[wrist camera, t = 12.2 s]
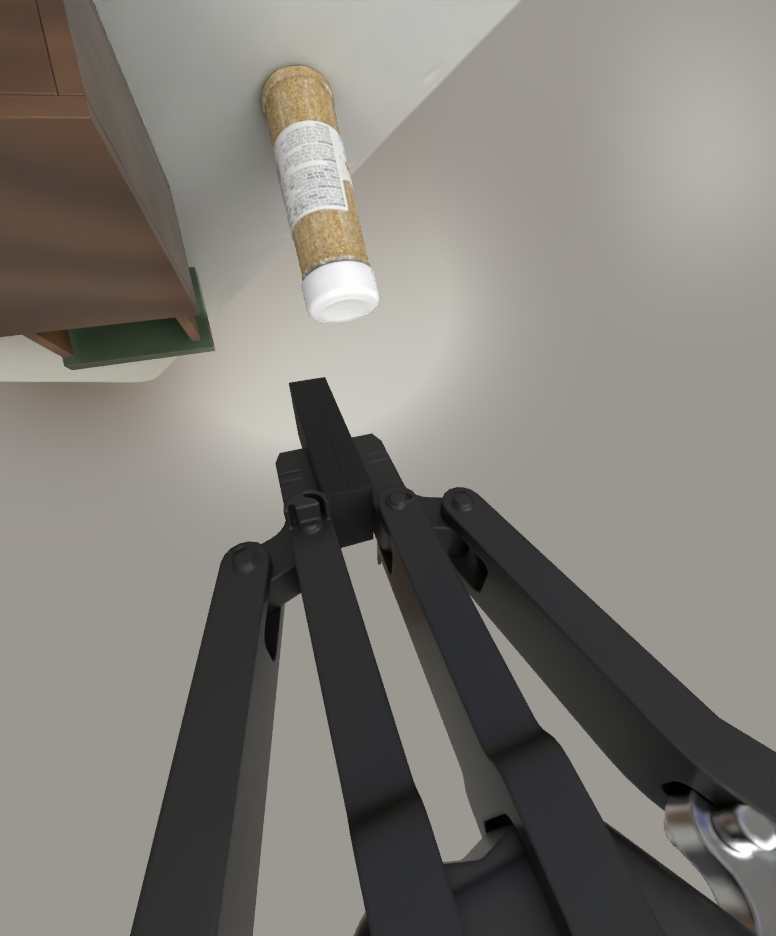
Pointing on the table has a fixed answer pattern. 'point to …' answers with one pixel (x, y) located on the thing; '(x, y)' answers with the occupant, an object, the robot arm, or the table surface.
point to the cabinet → (79, 182)
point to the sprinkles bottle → (318, 195)
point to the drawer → (132, 338)
